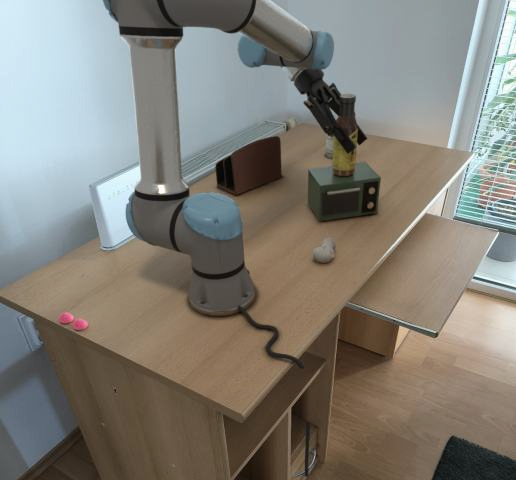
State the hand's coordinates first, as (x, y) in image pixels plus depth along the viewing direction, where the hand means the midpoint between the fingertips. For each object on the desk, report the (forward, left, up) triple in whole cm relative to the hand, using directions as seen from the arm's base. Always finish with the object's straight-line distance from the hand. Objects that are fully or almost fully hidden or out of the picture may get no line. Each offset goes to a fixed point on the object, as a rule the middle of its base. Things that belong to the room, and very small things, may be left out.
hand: (357, 146), depth 134 cm
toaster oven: (+1, +3, -19) cm, 19 cm away
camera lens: (+44, -8, -19) cm, 48 cm away
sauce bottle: (+3, +3, -8) cm, 9 cm away
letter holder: (+31, +25, -19) cm, 44 cm away
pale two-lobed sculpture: (-21, +15, -19) cm, 32 cm away
